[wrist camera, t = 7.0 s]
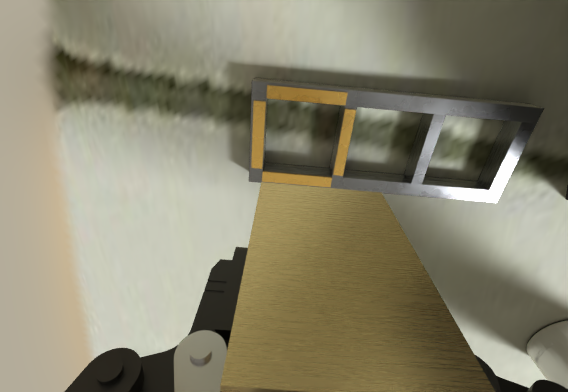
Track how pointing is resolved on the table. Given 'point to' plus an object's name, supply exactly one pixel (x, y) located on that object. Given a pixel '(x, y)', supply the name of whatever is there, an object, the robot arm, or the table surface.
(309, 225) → the wooden block
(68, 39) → the table surface
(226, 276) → the robot arm
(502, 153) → the grey compartment tray
